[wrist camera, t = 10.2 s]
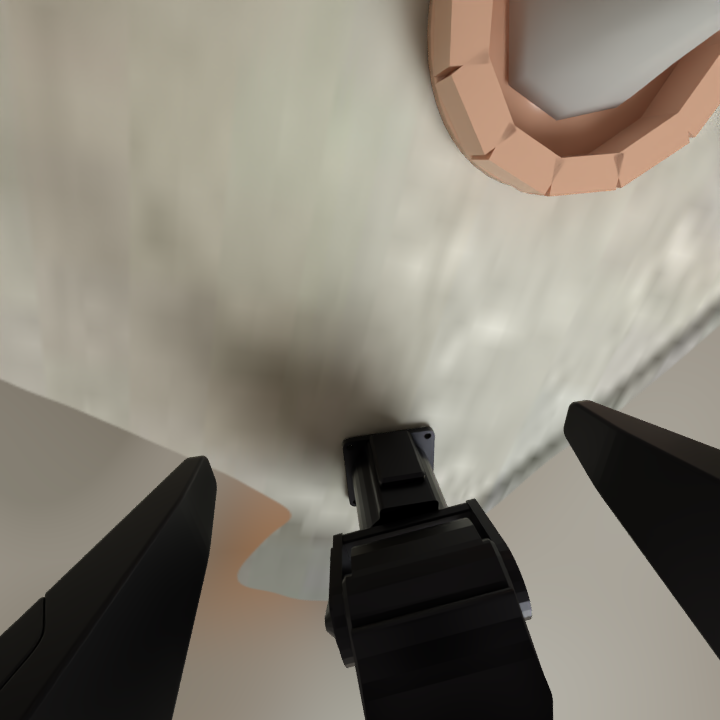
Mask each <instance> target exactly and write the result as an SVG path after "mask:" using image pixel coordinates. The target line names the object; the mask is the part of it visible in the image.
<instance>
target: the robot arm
mask: <svg viewBox="0 0 720 720" xmlns="http://www.w3.org/2000/svg"><path fill="white" fill-rule="evenodd" d="M427 433H429V434H428V435H425V434H427ZM564 434H565V437H566V439H567V440H568V442H569V444H570V446H571V447H572V449H573V450H574V452H575V454H576V456H577V457H578V459H579V461H580V463H581V464H582V466H583V468H584V469H585V471H586V473H587V475H588V476H589V478H590V479H591V481H592V483H593V485H594V486H595V488H596V489H597V491H598V492H599V494H600V495H601V497H602V498H603V499H604V501H605V502H606V504H607V505H608V506H609V508H610V509H611V510H612V512H613V513H614V515H615V516H616V517H617V519H618V520H619V521H620V523H621V524H622V526H623V527H624V528H625V530H626V531H627V532H628V534H629V535H630V537H631V538H632V539H633V541H634V542H635V543H636V545H637V546H638V548H639V549H640V551H641V552H642V553H643V555H644V556H645V557H646V559H647V560H648V562H649V563H650V564H651V566H652V567H653V568H654V570H655V571H656V573H657V574H658V575H659V577H660V578H661V579H662V581H663V582H664V584H665V585H666V586H667V588H668V589H669V590H670V592H671V593H672V595H673V596H674V597H675V599H676V600H677V602H678V603H679V604H680V606H681V607H682V608H683V610H684V611H685V613H686V614H687V615H688V617H689V618H690V619H691V621H692V622H693V624H694V625H695V626H696V628H697V629H698V631H699V632H700V633H701V635H702V636H703V638H704V639H705V640H706V642H707V643H708V644H709V646H710V647H711V649H712V650H713V651H714V653H715V654H716V655H717V657H718V658H719V660H720V450H719V449H717V448H714V447H711V446H709V445H706V444H703V443H701V442H698V441H695V440H693V439H690V438H687V437H685V436H682V435H680V434H677V433H674V432H672V431H669V430H667V429H664V428H661V427H658V426H656V425H653V424H651V423H648V422H645V421H643V420H640V419H637V418H635V417H632V416H630V415H627V414H624V413H621V412H619V411H616V410H614V409H611V408H608V407H606V406H603V405H601V404H598V403H595V402H593V401H590V400H583V401H576V402H573V403H571V404H570V406H569V408H568V412H567V416H566V420H565V424H564ZM434 440H435V434H434V432H433V429H432V428H430V427H422V428H415V429H408V430H402V431H395V432H388V433H381V434H374V435H367V436H360V437H353V438H348V439H345V440H344V441H343V444H342V445H343V453H344V461H345V469H346V477H347V485H348V493H349V501H350V505H352V506H356V507H357V513H358V520H359V527H360V530H359V531H355V532H351V533H347V534H343V533H341V534H337V535H333V548H331V557H330V583H329V600H328V605H327V610H326V615H325V626H326V630H327V632H329V634H331V635H332V636H333V637H334V638H335V639H336V642H337V645H338V648H339V650H340V654H341V657H342V660H343V663H344V665H345V666H346V668H348V667H352V666H355V668H356V672H357V678H358V684H359V689H360V694H361V699H362V705H363V710H364V715H365V720H553V698H552V694H551V691H550V688H549V686H548V683H547V681H546V678H545V676H544V673H543V671H542V668H541V665H540V662H539V659H538V656H537V654H536V651H535V648H534V645H533V642H532V639H531V636H530V634H529V631H528V628H527V625H526V622H525V621H526V620H530V619H531V617H532V609H531V604H530V600H529V596H528V592H527V589H526V586H525V584H524V580H523V578H522V575H521V573H520V571H519V568H518V566H517V564H516V561H515V559H514V557H513V555H512V553H511V551H510V550H509V548H508V547H507V545H506V543H505V542H504V540H503V539H502V537H501V536H500V534H499V533H498V531H497V530H496V528H495V527H494V525H493V524H492V522H491V521H490V520H489V518H488V517H487V515H486V514H485V512H484V511H483V509H482V508H481V506H480V505H479V504H478V502H477V501H476V499H471V500H467V501H466V503H462V504H458V505H454V506H451V507H448V506H447V504H446V502H445V499H444V497H443V494H442V492H441V489H440V487H439V485H438V482H437V480H436V477H435V475H434V472H433V468H434ZM348 445H352V446H348ZM216 491H217V485H216V479H215V477H214V474H213V471H212V468H211V466H210V463H209V460H208V459H207V457H206V456H196V457H190V458H187V459H186V460H184V461H183V462H182V463H181V464H180V465H179V466H178V467H177V468H176V469H175V470H174V471H173V472H172V473H171V474H170V475H169V476H168V477H166V478H165V480H163V481H162V482H161V483H160V484H159V485H158V486H157V487H156V488H155V489H154V490H153V491H152V492H151V493H150V494H149V495H148V496H147V497H146V498H145V499H144V500H143V501H141V502H140V503H139V504H138V505H137V506H136V507H135V508H134V509H133V510H132V511H131V512H130V513H129V514H128V515H127V516H126V517H125V518H124V519H123V520H122V521H121V522H119V524H118V525H116V526H115V527H114V528H113V529H112V530H111V531H110V532H109V533H108V534H107V535H106V536H105V537H104V538H103V539H102V540H101V541H100V542H99V543H98V544H96V545H95V547H94V548H93V549H91V550H90V551H89V552H88V553H87V554H86V555H85V556H84V557H83V558H82V559H81V560H80V561H79V562H78V563H77V564H76V565H75V566H74V567H72V569H70V570H69V571H68V572H67V573H66V574H65V575H64V576H63V577H62V578H61V579H60V580H59V581H58V582H57V583H56V584H55V585H54V586H53V587H52V588H51V589H49V591H47V592H46V594H45V597H42V598H40V599H39V600H38V601H37V602H36V603H35V604H34V605H33V606H32V607H31V608H30V609H28V610H27V611H26V612H25V613H24V614H23V615H22V616H21V617H20V618H19V619H18V620H17V621H16V622H15V623H14V624H13V625H11V626H10V627H9V628H8V630H6V631H5V632H4V633H3V634H2V635H1V636H0V720H172V717H173V713H174V708H175V704H176V700H177V695H178V691H179V686H180V682H181V678H182V673H183V668H184V664H185V660H186V655H187V651H188V647H189V642H190V638H191V634H192V629H193V625H194V620H195V616H196V612H197V607H198V603H199V598H200V594H201V590H202V585H203V581H204V576H205V572H206V568H207V563H208V558H209V551H210V545H211V536H212V527H213V518H214V509H215V501H216Z"/></svg>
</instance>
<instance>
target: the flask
mask: <svg viewBox="0 0 720 720" xmlns="http://www.w3.org/2000/svg"><path fill="white" fill-rule="evenodd" d="M719 30H720V0H509V82H508V85H509V86H510V87H512V88H513V89H514V90H516V91H517V92H518V93H520V94H521V95H522V96H524V97H525V98H526V99H528V100H529V101H531V102H532V103H533V104H535V105H536V106H537V107H539V108H540V109H541V110H543V111H544V112H545V113H547V114H548V115H549V116H551V117H552V118H553V119H555V120H556V121H557V120H562V119H566V118H571V117H575V116H580V115H584V114H589V113H593V112H598V111H603V110H607V109H612V108H616V107H618V106H619V105H621V104H622V103H623V102H625V101H626V100H627V99H629V98H630V97H631V96H633V95H634V94H635V93H637V92H638V91H639V90H640V89H642V88H643V87H644V86H645V85H647V84H648V83H649V82H650V81H652V80H653V79H654V78H656V77H657V76H658V75H659V74H661V73H662V72H663V71H664V70H666V69H667V68H668V67H670V66H671V65H672V64H673V63H675V62H676V61H677V60H679V59H680V58H682V57H683V56H684V55H686V54H687V53H688V52H690V51H691V50H693V49H694V48H695V47H697V46H698V45H699V44H701V43H702V42H704V41H705V40H706V39H708V38H709V37H710V36H712V35H713V34H715V33H716V32H717V31H719Z"/></svg>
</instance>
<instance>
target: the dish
mask: <svg viewBox="0 0 720 720" xmlns="http://www.w3.org/2000/svg"><path fill="white" fill-rule="evenodd" d="M427 45H428V63H429V71H430V78H431V84H432V88H433V92H434V96H435V100H436V104H437V107H438V110H439V112H440V115H441V117H442V120H443V123H444V125H445V127H446V129H447V130H448V132H449V134H450V136H451V138H452V140H453V141H454V143H455V144H456V145H457V147H458V148H459V150H460V151H461V152H462V154H463V155H464V156H465V157H466V158H467V159H468V160H469V161H470V162H471V163H472V164H473V165H474V166H475V167H476V168H478V169H479V170H480V171H482V172H483V173H484V174H486V175H487V176H489V177H491V178H493V179H495V180H497V181H499V182H501V183H504V184H507V185H510V186H513V187H514V188H516V189H517V190H519V191H521V192H525V193H529V194H537V195H544V196H559V195H569V194H579V193H590V192H600V191H611V190H616V187H617V188H622V187H623V186H625V185H626V184H628V183H629V182H631V181H632V180H634V179H635V178H637V177H638V176H640V175H641V174H643V173H644V172H646V171H648V170H649V169H651V168H652V167H654V166H655V165H657V164H658V163H660V162H661V161H663V160H664V159H666V158H667V157H669V156H670V155H672V154H673V153H675V152H676V151H678V150H679V149H681V148H682V147H684V146H685V145H687V144H688V143H689V138H690V137H696V135H697V134H698V133H699V131H700V130H701V129H702V127H703V126H704V125H705V123H706V122H707V121H708V119H709V118H710V117H711V115H712V114H713V113H714V111H715V110H716V108H717V107H718V106H719V104H720V30H719V31H717V32H716V33H715V34H713V35H712V36H710V37H709V38H708V39H706V40H705V41H704V42H702V43H701V44H699V45H698V46H697V47H695V48H694V49H693V50H691V51H690V52H688V53H687V54H686V55H684V56H683V57H682V58H680V59H679V60H677V61H676V62H675V63H673V64H672V65H671V66H670V67H668V68H667V69H666V70H664V71H663V72H662V73H661V74H659V75H658V76H657V77H656V78H654V79H653V80H652V81H650V82H649V83H648V84H647V85H645V86H644V87H643V88H642V89H640V90H639V91H638V92H637V93H635V94H634V95H633V96H631V97H630V98H629V99H627V100H626V101H625V102H623V103H622V104H621V105H619V106H618V107H616V108H612V109H607V110H603V111H598V112H593V113H589V114H584V115H580V116H575V117H571V118H566V119H562V120H557V121H556V120H555V119H553V118H552V117H551V116H549V115H548V114H547V113H545V112H544V111H543V110H541V109H540V108H539V107H537V106H536V105H535V104H533V103H532V102H531V101H529V100H528V99H526V98H525V97H524V96H522V95H521V94H520V93H518V92H517V91H516V90H514V89H513V88H512V87H510V86H509V85H508V82H509V0H430V4H429V13H428V29H427Z"/></svg>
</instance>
